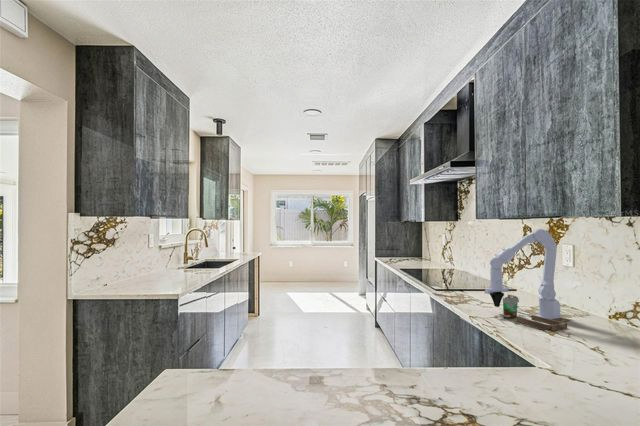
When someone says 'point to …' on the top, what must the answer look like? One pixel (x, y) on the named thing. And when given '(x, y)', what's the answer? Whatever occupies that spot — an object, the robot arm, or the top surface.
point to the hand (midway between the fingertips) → (497, 306)
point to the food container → (510, 307)
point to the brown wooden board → (554, 326)
